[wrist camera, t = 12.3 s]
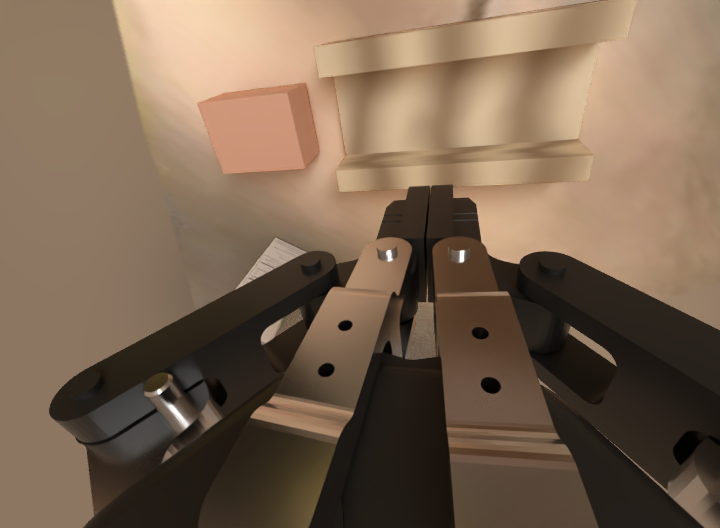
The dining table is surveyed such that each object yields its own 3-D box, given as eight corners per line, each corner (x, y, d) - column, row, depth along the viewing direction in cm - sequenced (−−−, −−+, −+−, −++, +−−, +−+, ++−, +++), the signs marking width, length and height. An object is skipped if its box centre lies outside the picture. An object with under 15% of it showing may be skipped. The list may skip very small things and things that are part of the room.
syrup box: (303, 285, 45) (257, 376, 34) (263, 266, 45) (202, 352, 33) (317, 255, 42) (270, 346, 31) (273, 234, 41) (209, 319, 30)
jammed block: (305, 82, 29) (287, 92, 26) (319, 152, 33) (304, 168, 29) (224, 93, 31) (196, 103, 28) (245, 157, 34) (223, 173, 31)
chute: (605, -1, 23) (637, -3, 19) (568, 158, 30) (587, 180, 26) (331, 41, 28) (313, 46, 24) (351, 171, 34) (339, 191, 31)
